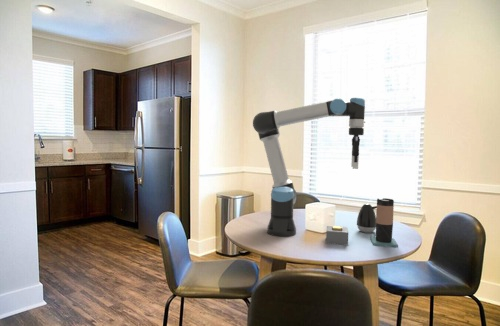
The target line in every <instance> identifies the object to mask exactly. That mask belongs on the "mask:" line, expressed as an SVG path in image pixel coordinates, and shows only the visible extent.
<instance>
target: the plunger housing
mask: <svg viewBox="0 0 500 326" xmlns="http://www.w3.org/2000/svg"><path fill="white" fill-rule="evenodd" d="M333 226H334V225H326V235H325V238H326V240H325V244H330V245H341V246H348V245H349V227H347V226H341V227H342V231H339V230H333Z"/></svg>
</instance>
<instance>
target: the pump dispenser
mask: <svg viewBox="0 0 500 326" xmlns="http://www.w3.org/2000/svg"><path fill="white" fill-rule="evenodd" d="M375 209H377V205H374V206H372V205H371V204H370V203H364V204H363V205H362V206H361V207H360V209H359V212H358V215H357V219H356V226H357V229H358V230H359V232H361V233H365V234H370V233H373V232H374V231H376V212H375Z"/></svg>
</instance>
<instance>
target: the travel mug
mask: <svg viewBox="0 0 500 326" xmlns="http://www.w3.org/2000/svg"><path fill="white" fill-rule="evenodd" d="M394 203H395V200H394V199H393V198H382V199H380V198H377V199H376V206H377V208H376V212H375V215H376V228H375V237H376V241H378V242H383V243H390V242H391V241H392V238H393V228H394V207H395V204H394Z"/></svg>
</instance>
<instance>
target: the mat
mask: <svg viewBox="0 0 500 326" xmlns="http://www.w3.org/2000/svg"><path fill="white" fill-rule="evenodd" d="M370 241H371V244H372V246H378V247H379V246H381V247H392V248H399V244H398V243H397V241H396V240H395V238H394V237H392V241H391V242H390V243H383V242H378V241H376V236H370Z"/></svg>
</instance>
